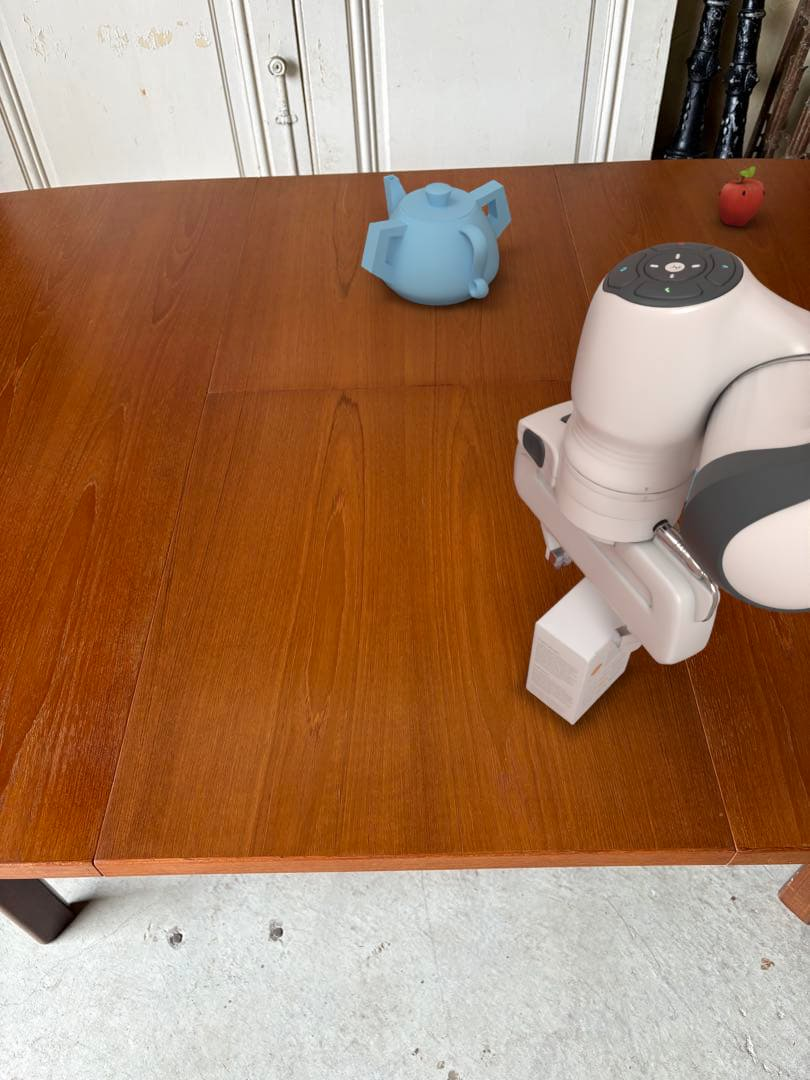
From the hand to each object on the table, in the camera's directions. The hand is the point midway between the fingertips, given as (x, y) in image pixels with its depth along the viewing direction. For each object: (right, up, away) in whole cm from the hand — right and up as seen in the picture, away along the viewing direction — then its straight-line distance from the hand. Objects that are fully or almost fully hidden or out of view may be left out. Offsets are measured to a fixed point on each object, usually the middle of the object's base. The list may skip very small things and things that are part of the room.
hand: (590, 601), depth 66 cm
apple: (+37, +55, +64) cm, 92 cm away
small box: (+1, -8, +9) cm, 12 cm away
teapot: (-10, +44, +56) cm, 72 cm away
